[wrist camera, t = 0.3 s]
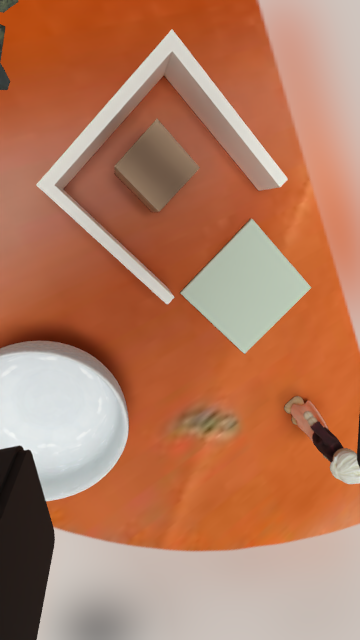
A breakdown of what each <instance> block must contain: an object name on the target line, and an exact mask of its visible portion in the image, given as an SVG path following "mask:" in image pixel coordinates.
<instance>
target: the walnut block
mask: <svg viewBox="0 0 360 640" xmlns="http://www.w3.org/2000/svg"><path fill="white" fill-rule="evenodd" d="M199 168H200V167H199V166H198V165H197V164H196V163H195V162H194V161H193V159H192V158H191V157H190V156H189V155H188V154H187V152H186V151H185V150H184V149H183V148H182V147H181V146H180V144H179V143H178V142H177V141H176V140H175V139H174V137H173V136H172V135H171V134H170V133H169V132H168V131H167V129H166V128H165V127H164V126H163V125H162V124H161V123H160V121H159V120H158V119H156V120H155V122H154V123H153V124H152V125H151V126H150V127H149V128H148V129H147V130H146V132H145V133H144V134H143V135H142V136H141V137H140V138H139V139H138V141H137V142H136V143H135V144H134V145H133V146H132V147H131V148H130V149H129V151H128V152H127V153H126V154H125V155H124V156H123V157H122V158H121V160H120V161H119V162H118V163H117V164H116V165H115V175H116V176H117V177H118V178H119V179H120V180H121V181H122V182H123V183H124V184H125V185H126V186H127V187H128V188H129V189H130V190H131V191H132V192H133V193H134V194H135V195H136V196H137V197H138V198H139V199H140V200H141V201H142V202H143V203H144V204H145V205H146V207H147V208H148V209H149V210H150V211H151V212H159V211H160V210H161V209H162V208H163V207H164V206H165V205H166V204H167V203H168V202H169V201H170V200H171V199H172V197H173V196H174V195H175V194H176V193H177V192H178V191H179V190H180V189H181V188H182V187H183V186H184V184H185V183H186V182H187V181H188V180H189V179H190V178H191V177H192V176H193V175H194V174H195V173H196V172H197V170H198V169H199Z"/></svg>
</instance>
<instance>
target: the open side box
mask: <svg viewBox="0 0 360 640" xmlns="http://www.w3.org/2000/svg"><path fill="white" fill-rule="evenodd" d="M163 76H165V77H166V78H167V80H168V81H169V82H170V83H171V85H172V86H173V87H174V88H175V89H176V91H177V92H178V93H179V94H180V96H181V97H182V98H183V99H184V100H185V102H186V103H187V104H188V105H189V107H190V108H191V109H192V110H193V111H194V113H195V114H196V115H197V116H198V117H199V119H200V120H201V121H202V122H203V124H204V125H205V126H206V127H207V128H208V130H209V131H210V132H211V133H212V135H213V136H214V137H215V138H216V139H217V141H218V142H219V143H220V144H221V146H222V147H223V148H224V149H225V150H226V152H227V153H228V154H229V155H230V156H231V158H232V159H233V160H234V161H235V163H236V164H237V165H238V166H239V167H240V169H241V170H242V171H243V172H244V174H245V175H246V176H247V177H248V178H249V180H250V181H251V182H252V183H253V185H254V186H255V187H256V188H257V189H258V191H260V190H266V189H273V188H279V187H281V186H282V185H283V184H284V183H285V182H286V181H287V180H288V179H287V177H286V176H285V175H284V173H283V172H282V171H281V169H280V168H279V167H278V166H277V164H276V163H275V162H274V160H273V159H272V158H271V157H270V155H269V154H268V153H267V151H266V150H265V149H264V147H263V146H262V145H261V144H260V142H259V141H258V140H257V138H256V137H255V136H254V135H253V133H252V132H251V131H250V129H249V128H248V127H247V125H246V124H245V123H244V122H243V120H242V119H241V118H240V116H239V115H238V114H237V113H236V111H235V110H234V109H233V107H232V106H231V105H230V103H229V102H228V101H227V100H226V98H225V97H224V96H223V94H222V93H221V92H220V90H219V89H218V88H217V87H216V85H215V84H214V83H213V81H212V80H211V79H210V78H209V76H208V75H207V74H206V72H205V71H204V70H203V68H202V67H201V66H200V65H199V63H198V62H197V61H196V59H195V58H194V57H193V56H192V54H191V53H190V52H189V50H188V49H187V48H186V46H185V45H184V44H183V43H182V41H181V40H180V39H179V37H178V36H177V35H176V34H175V32H174V31H173V30H171V31H170V32H169V33H168V34H167V35H166V37H165V38H164V39H163V40H162V41H161V42H160V43H159V45H158V46H157V47H156V48H155V49H154V50H153V52H152V53H151V54H150V55H149V56H148V57H147V58H146V60H145V61H144V62H143V63H142V64H141V65H140V66H139V68H138V69H137V70H136V71H135V72H134V73H133V74H132V76H131V77H130V78H129V79H128V80H127V81H126V82H125V84H124V85H123V86H122V87H121V88H120V89H119V91H118V92H117V93H116V94H115V95H114V96H113V97H112V99H111V100H110V101H109V102H108V103H107V104H106V105H105V107H104V108H103V109H102V110H101V111H100V112H99V113H98V115H97V116H96V117H95V118H94V119H93V120H92V121H91V123H90V124H89V125H88V126H87V127H86V128H85V130H84V131H83V132H82V133H81V134H80V135H79V136H78V138H77V139H76V140H75V141H74V142H73V143H72V144H71V146H70V147H69V148H68V149H67V150H66V151H65V152H64V154H63V155H62V156H61V157H60V158H59V159H58V160H57V162H56V163H55V164H54V165H53V166H52V167H51V169H50V170H49V171H48V172H47V173H46V174H45V175H44V177H43V178H42V179H41V180H40V181H39V182H38V183H37V186H38V187H39V188H40V189H41V190H42V191H43V192H44V193H45V194H47V195H48V196H49V197H50V198H51V199H52V200H53V201H54V202H55V203H56V204H57V205H59V206H60V207H61V208H62V209H63V210H64V211H65V212H66V213H67V214H68V215H70V216H71V217H72V218H73V219H74V220H75V221H76V222H77V223H78V224H79V225H80V226H82V227H83V228H84V229H85V230H86V231H87V232H88V233H89V234H90V235H91V236H92V237H94V238H95V239H96V240H97V241H98V242H99V243H100V244H101V245H102V246H103V247H105V248H106V249H107V250H108V251H109V252H110V253H111V254H112V255H113V256H114V257H115V258H117V259H118V260H119V261H120V262H121V263H122V264H123V265H124V266H125V267H126V268H127V269H129V270H130V271H131V272H132V273H133V274H134V275H135V276H136V277H137V278H138V279H140V280H141V281H142V282H143V283H144V284H145V285H146V286H147V287H148V288H149V289H150V290H152V291H153V292H154V293H155V294H156V295H157V296H158V297H159V298H160V299H161V300H162V301H164V302H165V303H166V304H167V305H168V304H169V303H170V301H171V300H172V299H173V298H174V296H173V295H172V293H171V292H170V290H169V289H168V287H167V286H166V285H165V284H164V283H162V282H161V281H160V280H159V279H158V278H157V277H156V276H155V275H154V274H153V273H152V272H151V271H150V270H149V269H148V268H146V267H145V266H144V265H143V264H142V263H141V262H140V261H139V260H138V259H137V258H136V257H135V256H134V255H133V254H132V253H130V252H129V251H128V250H127V249H126V248H125V247H124V246H123V245H122V244H121V243H120V242H119V241H118V240H117V239H116V238H114V237H113V236H112V235H111V234H110V233H109V232H108V231H107V230H106V229H105V228H104V227H103V226H102V225H101V224H100V223H99V222H97V221H96V220H95V219H94V218H93V217H92V216H91V215H90V214H89V213H88V212H87V211H86V210H85V209H84V208H83V207H81V206H80V205H79V204H78V203H77V202H76V201H75V200H74V199H73V198H72V197H71V196H70V195H69V194H68V193H67V192H65V191H64V190H63V189H64V188H65V187H66V185H67V184H68V183H69V182H70V181H71V180H72V179H73V178H74V176H75V175H76V174H77V173H78V172H79V171H80V170H81V168H82V167H83V166H84V165H85V164H86V163H87V162H88V161H89V159H90V158H91V157H92V156H93V155H94V154H95V153H96V151H97V150H98V149H99V148H100V147H101V146H102V145H103V144H104V142H105V141H106V140H107V139H108V138H109V137H110V136H111V134H112V133H113V132H114V131H115V130H116V129H117V128H118V127H119V125H120V124H121V123H122V122H123V121H124V120H125V119H126V117H127V116H128V115H129V114H130V113H131V112H132V111H133V110H134V108H135V107H136V106H137V105H138V104H139V103H140V102H141V101H142V99H143V98H144V97H145V96H146V95H147V94H148V93H149V91H150V90H151V89H152V88H153V87H154V86H155V85H156V84H157V82H158V81H159V80H160V79H161V78H162V77H163Z"/></svg>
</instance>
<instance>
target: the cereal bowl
mask: <svg viewBox="0 0 360 640" xmlns="http://www.w3.org/2000/svg"><path fill="white" fill-rule="evenodd" d="M128 430H129V420H128V411H127V406H126V401H125V398H124V395H123V392H122V390H121V388H120V386H119V384H118V382H117V381H116V379H115V378H114V376H113V374H112V373H111V372H110V371H109V370H108V369H107V368H106V367H105V366H104V365H103V364H102V363H101V362H100V361H99V360H97V359H96V358H95V357H93V356H92V355H90V354H88V353H87V352H85V351H83V350H81V349H79V348H76V347H74V346H70V345H68V344H63V343H60V342H51V341H40V340H38V341H27V342H21V343H16V344H12V345H8V346H6V347H2V348H0V449H4V448H9V447H14V446H19V445H20V446H22V447H23V449H24V450H30V451H31V452H32V455H33V459H34V462H35V466H36V469H37V473H38V476H39V480H40V483H41V486H42V490H43V493H44V497H45V500H46V501H51V500H57V499H61V498H65V497H69V496H72V495H74V494H77V493H79V492H81V491H84V490H86V489H87V488H89V487H91V486H92V485H94V484H95V483H97V482H98V481H99V480H101V479H102V478H103V477H104V476H105V475H106V474H107V473H108V472H109V471H110V470H111V469H112V468H113V466H114V465H115V464H116V462H117V461H118V459H119V458H120V456H121V454H122V452H123V450H124V447H125V445H126V441H127V437H128Z"/></svg>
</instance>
